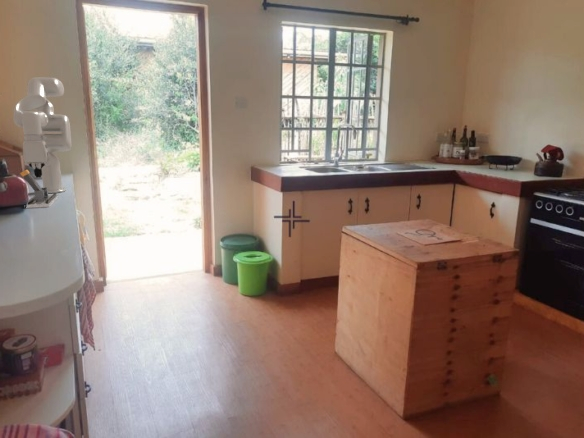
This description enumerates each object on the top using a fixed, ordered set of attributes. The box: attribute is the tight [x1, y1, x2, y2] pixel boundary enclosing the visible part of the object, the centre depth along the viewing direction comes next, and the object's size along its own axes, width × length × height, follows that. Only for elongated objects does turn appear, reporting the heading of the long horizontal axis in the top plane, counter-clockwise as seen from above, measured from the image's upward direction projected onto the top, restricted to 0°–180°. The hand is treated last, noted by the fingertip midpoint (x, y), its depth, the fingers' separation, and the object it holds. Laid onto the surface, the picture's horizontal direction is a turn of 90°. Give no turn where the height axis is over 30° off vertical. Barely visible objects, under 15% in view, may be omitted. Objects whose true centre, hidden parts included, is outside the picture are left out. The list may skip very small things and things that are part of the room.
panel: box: [25, 187, 59, 209], centre depth 219 cm, size 24×10×7 cm, turn 18°
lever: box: [19, 169, 43, 191], centre depth 217 cm, size 6×2×13 cm
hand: (38, 177), depth 217 cm, fingers closed
